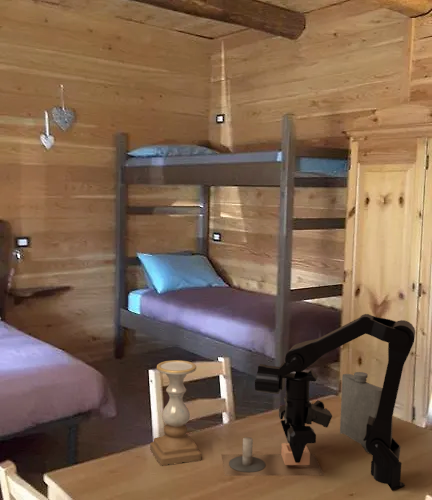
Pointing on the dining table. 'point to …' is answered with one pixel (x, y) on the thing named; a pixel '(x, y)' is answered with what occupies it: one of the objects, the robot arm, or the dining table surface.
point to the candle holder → (175, 418)
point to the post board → (264, 464)
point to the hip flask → (358, 405)
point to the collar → (289, 457)
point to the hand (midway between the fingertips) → (295, 456)
